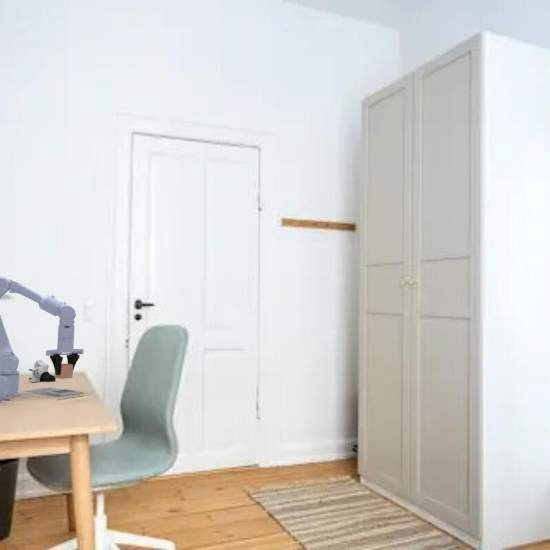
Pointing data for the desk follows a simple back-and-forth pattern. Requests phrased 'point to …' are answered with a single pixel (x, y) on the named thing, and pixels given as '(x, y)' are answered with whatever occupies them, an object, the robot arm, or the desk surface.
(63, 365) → the block
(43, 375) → the toy
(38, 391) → the board
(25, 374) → the desk surface
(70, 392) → the locating frame
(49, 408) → the desk surface
